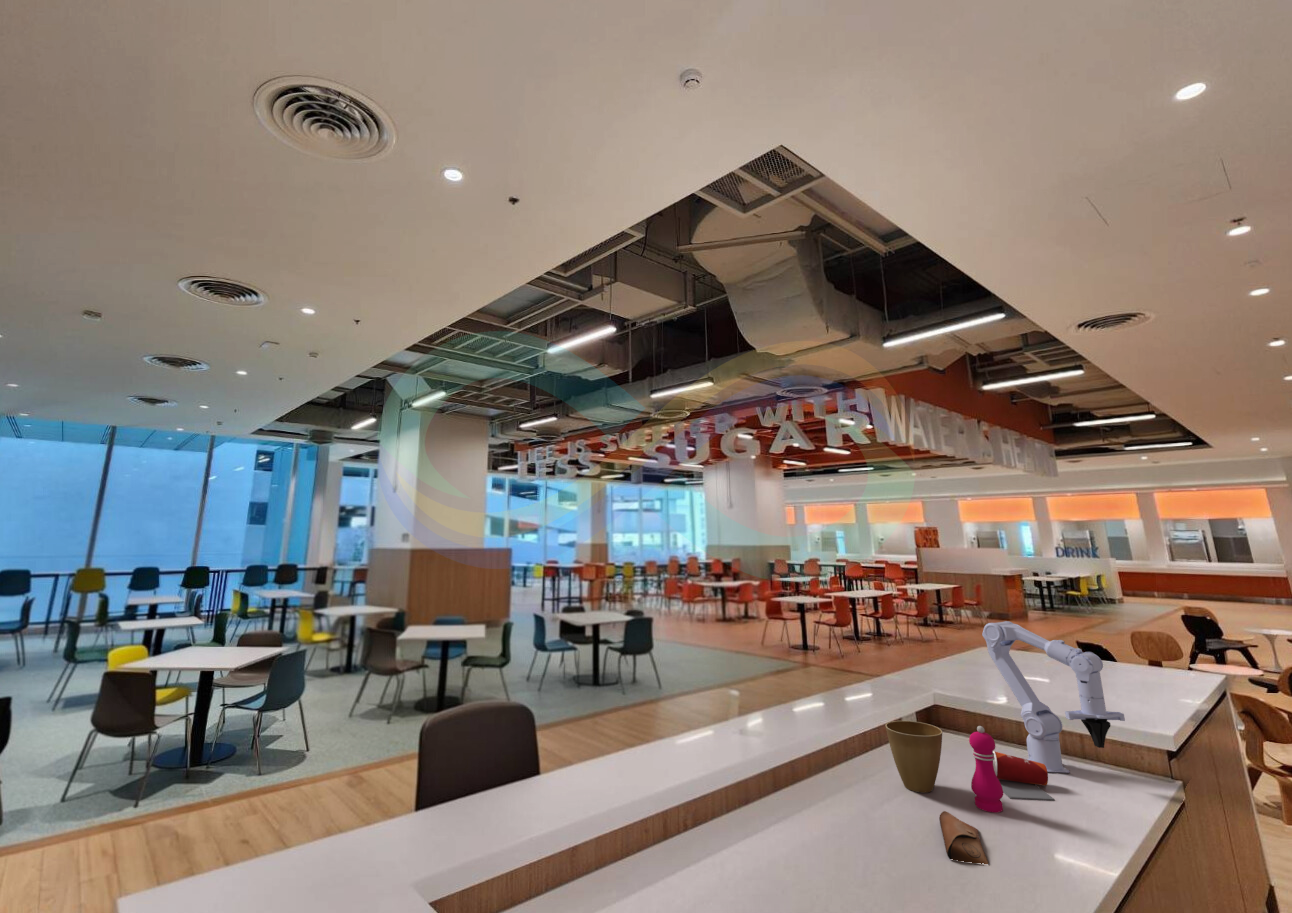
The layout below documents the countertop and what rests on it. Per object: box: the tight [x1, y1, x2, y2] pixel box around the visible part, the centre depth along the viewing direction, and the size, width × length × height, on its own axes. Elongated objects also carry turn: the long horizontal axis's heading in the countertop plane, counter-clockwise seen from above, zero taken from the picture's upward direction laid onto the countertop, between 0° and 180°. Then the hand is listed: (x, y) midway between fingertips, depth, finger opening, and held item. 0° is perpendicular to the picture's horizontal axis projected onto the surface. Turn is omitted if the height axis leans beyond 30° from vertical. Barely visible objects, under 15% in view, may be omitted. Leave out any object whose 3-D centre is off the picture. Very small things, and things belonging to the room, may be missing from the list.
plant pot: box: [885, 720, 943, 794], centre depth 160 cm, size 15×15×16 cm
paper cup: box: [993, 750, 1049, 787], centre depth 160 cm, size 8×8×14 cm
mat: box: [998, 779, 1056, 802], centre depth 157 cm, size 16×11×1 cm
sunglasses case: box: [939, 810, 989, 864], centre depth 128 cm, size 18×7×7 cm, turn 158°
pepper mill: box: [968, 725, 1004, 814], centre depth 147 cm, size 7×7×20 cm
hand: (1099, 746), depth 159 cm, fingers closed
